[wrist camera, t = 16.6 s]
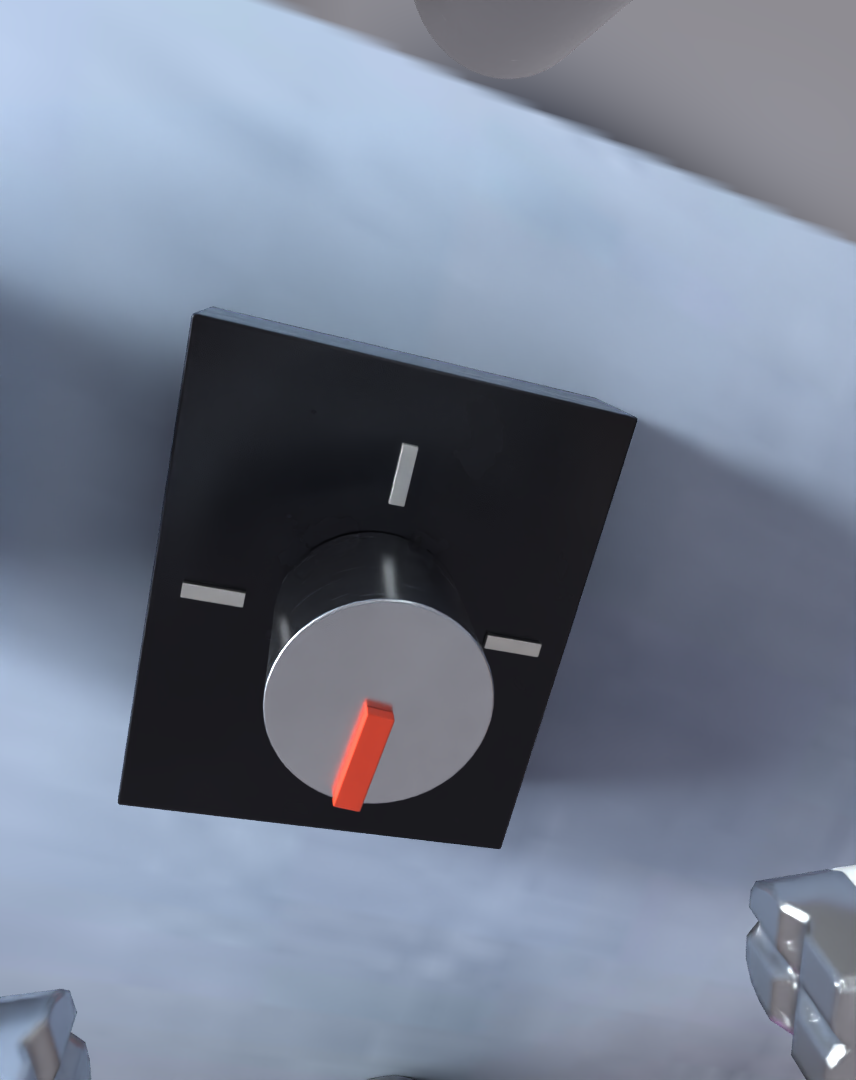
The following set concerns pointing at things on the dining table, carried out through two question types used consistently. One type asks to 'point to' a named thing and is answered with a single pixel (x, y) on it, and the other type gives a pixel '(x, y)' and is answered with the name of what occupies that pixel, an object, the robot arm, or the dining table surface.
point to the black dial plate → (347, 508)
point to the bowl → (392, 1078)
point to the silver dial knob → (374, 672)
